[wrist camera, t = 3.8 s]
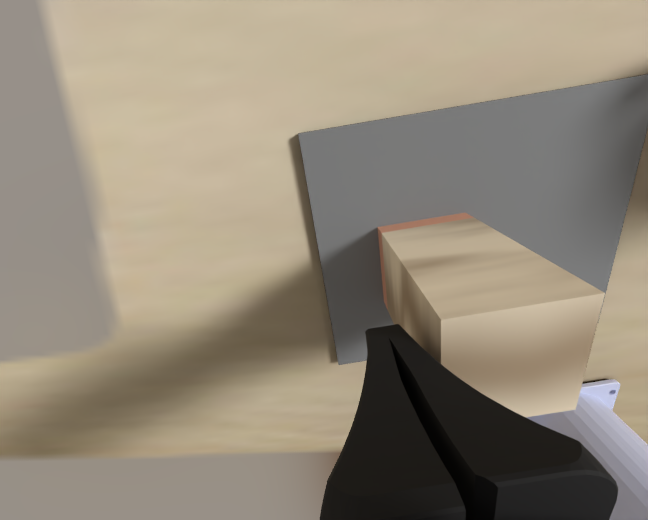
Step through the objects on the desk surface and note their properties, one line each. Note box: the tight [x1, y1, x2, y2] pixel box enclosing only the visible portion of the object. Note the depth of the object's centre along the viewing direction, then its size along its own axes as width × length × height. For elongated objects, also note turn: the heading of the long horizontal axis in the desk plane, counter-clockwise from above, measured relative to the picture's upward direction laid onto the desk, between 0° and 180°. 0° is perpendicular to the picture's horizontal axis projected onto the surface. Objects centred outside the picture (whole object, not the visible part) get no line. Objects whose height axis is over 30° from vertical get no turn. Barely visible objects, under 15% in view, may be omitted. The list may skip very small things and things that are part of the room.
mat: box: [298, 74, 648, 365], centre depth 19 cm, size 15×18×1 cm
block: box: [378, 213, 605, 417], centre depth 15 cm, size 5×5×9 cm
